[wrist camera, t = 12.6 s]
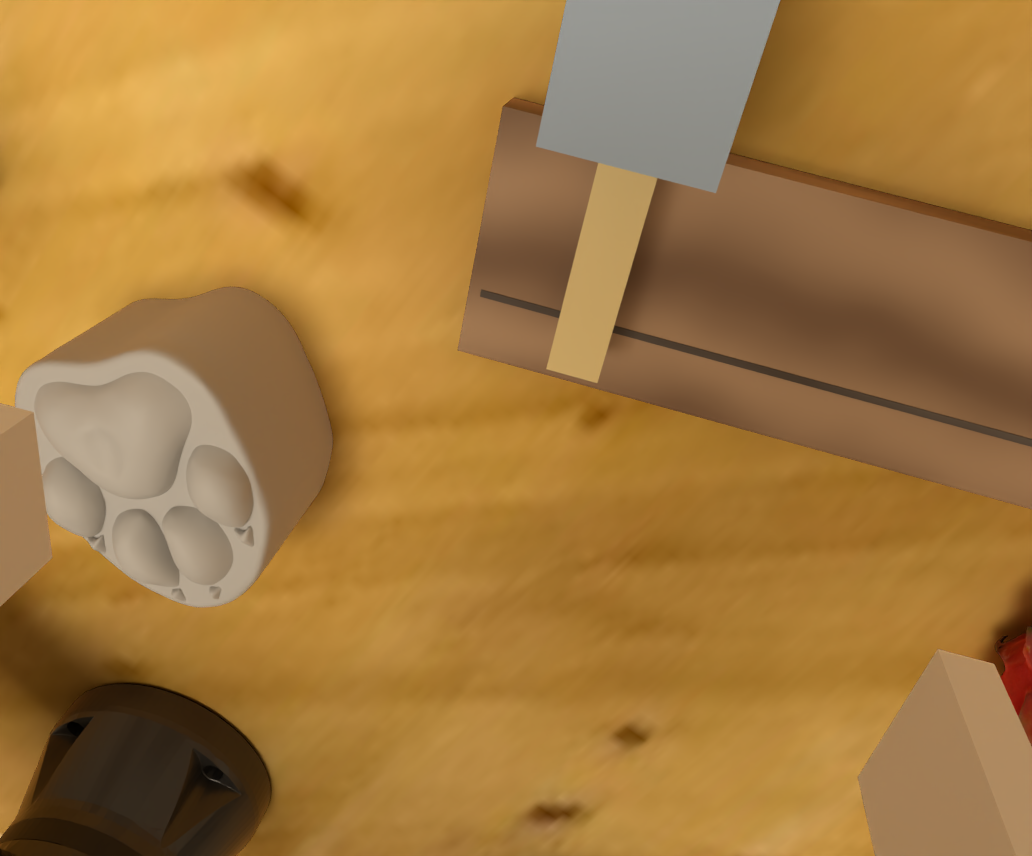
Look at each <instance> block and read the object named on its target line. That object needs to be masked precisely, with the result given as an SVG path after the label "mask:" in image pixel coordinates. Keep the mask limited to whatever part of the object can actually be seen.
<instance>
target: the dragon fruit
mask: <svg viewBox="0 0 1032 856" xmlns="http://www.w3.org/2000/svg"><path fill="white" fill-rule="evenodd" d="M1006 637H1007V636H1003V637H1002V638H1001V639H1000V640H999V641H997V642H996V645H995V650H996V652H997V653H998V654H999V655H1000V656H1001V658H1002V660H1003V662H1004V664H1005V671H1004V673H1003V674H1002V676H1001V680H1002V682H1003V684H1004V687H1005V689H1006V691H1007V693H1008V695H1009V698H1010V700H1011V702H1012V704H1013V706H1014V709H1015V711H1016V713H1017V715H1018V718H1019V720H1020V722H1021V724H1022V726H1023V729H1024V731H1025V733H1026V735H1027V737H1028V740H1029V742H1030V744H1031V746H1032V626H1027V632H1026V633H1023V634H1021V635H1019V636H1018V637H1016V638H1014V639H1011V640H1009V641H1007V642H1006V643H1002V642H1003V640H1004V639H1005V638H1006Z"/></svg>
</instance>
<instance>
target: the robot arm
mask: <svg viewBox="0 0 1032 856" xmlns="http://www.w3.org/2000/svg"><path fill="white" fill-rule="evenodd" d="M50 559H52V551H51V543H50V535H49V528H48V520H47V512H46V504H45V496H44V489H43V481H42V473H41V465H40V457H39V450H38V442H37V434H36V426H35V418H34V412H31V411H28V410H24V409H20V408H16V407H12V406H9V405H5V404H1V403H0V606H1V605H2V604H4V603H5V602H6V601H7V600H8V599H9V598H10V597H11V596H12V595H13V594H14V593H15V592H16V591H17V590H18V589H20V588H21V587H22V586H23V585H24V584H25V583H26V582H27V581H28V580H29V579H30V578H31V577H32V576H33V575H34V574H36V573H37V572H38V571H39V570H40V569H41V568H42V567H43V566H44V565H45V564H46V563H47V562H48V561H49V560H50ZM858 781H859V785H860V790H861V794H862V799H863V803H864V808H865V812H866V817H867V821H868V826H869V831H870V835H871V840H872V844H873V849H874V853H875V856H1032V746H1031V744H1030V742H1029V740H1028V737H1027V735H1026V733H1025V731H1024V729H1023V726H1022V724H1021V722H1020V720H1019V718H1018V715H1017V713H1016V711H1015V709H1014V706H1013V704H1012V702H1011V700H1010V698H1009V695H1008V693H1007V691H1006V689H1005V687H1004V684H1003V682H1002V680H1001V678H1000V676H999V673H998V671H997V669H996V667H995V665H994V664H993V663H989V662H985V661H982V660H978V659H974V658H970V657H966V656H963V655H959V654H955V653H951V652H947V651H943V650H940V649H937V651H936V653H935V654H934V656H933V657H932V659H931V661H930V662H929V664H928V665H927V667H926V669H925V670H924V672H923V673H922V675H921V677H920V678H919V680H918V681H917V683H916V685H915V686H914V688H913V689H912V691H911V693H910V694H909V696H908V697H907V699H906V701H905V702H904V704H903V705H902V707H901V709H900V710H899V712H898V713H897V715H896V717H895V718H894V720H893V721H892V723H891V725H890V726H889V728H888V729H887V731H886V733H885V734H884V736H883V737H882V739H881V741H880V742H879V744H878V745H877V747H876V749H875V750H874V752H873V753H872V755H871V757H870V758H869V760H868V761H867V763H866V765H865V766H864V768H863V769H862V771H861V772H860V774H859V776H858ZM270 796H271V789H270V782H269V778H268V775H267V772H266V770H265V767H264V765H263V763H262V762H261V760H260V758H259V757H258V755H257V754H256V752H255V751H254V750H253V748H252V747H251V746H250V745H249V744H248V742H247V741H246V740H245V739H244V738H243V737H242V736H241V735H240V734H239V733H238V732H237V731H236V730H234V729H233V728H232V727H231V726H230V725H229V724H227V723H226V722H225V721H223V720H222V719H221V718H219V717H218V716H216V715H215V714H213V713H212V712H210V711H208V710H207V709H205V708H203V707H202V706H200V705H198V704H196V703H194V702H192V701H190V700H188V699H185V698H183V697H181V696H178V695H175V694H173V693H170V692H167V691H164V690H160V689H156V688H152V687H147V686H142V685H133V684H113V685H105V686H101V687H97V688H94V689H92V690H89V691H87V692H86V693H84V694H83V695H81V696H80V697H79V698H78V699H77V700H76V701H75V702H74V703H73V704H72V706H71V707H70V708H69V709H68V710H67V712H66V713H65V714H64V715H63V716H62V718H61V719H60V720H59V721H58V722H57V724H56V725H55V726H54V728H53V730H52V731H51V733H50V735H49V737H48V740H47V742H46V745H45V747H44V750H43V752H42V755H41V757H40V760H39V762H38V765H37V767H36V770H35V772H34V775H33V777H32V780H31V782H30V785H29V787H28V790H27V792H26V794H25V797H24V799H23V802H22V804H21V807H20V809H19V812H18V814H17V816H16V818H15V820H14V821H13V823H12V824H11V825H10V827H9V828H8V829H7V830H6V832H5V833H4V834H3V835H2V837H1V838H0V856H236V855H237V854H238V853H239V852H240V851H241V850H242V849H243V848H244V847H245V846H246V845H247V843H248V842H249V841H250V839H251V838H252V837H253V835H254V833H255V831H256V829H257V828H258V826H259V824H260V822H261V820H262V818H263V816H264V814H265V812H266V810H267V808H268V805H269V802H270Z"/></svg>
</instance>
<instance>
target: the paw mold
mask: <svg viewBox="0 0 1032 856" xmlns="http://www.w3.org/2000/svg"><path fill="white" fill-rule="evenodd" d="M15 407H16V408H20V409H24V410H28V411H31V412H34V418H35V426H36V434H37V442H38V450H39V457H40V465H41V473H42V481H43V489H44V496H45V504H46V512H47V514H48V515H49V517H50V518H51V519H52V520H53V521H54V522H55V523H56V524H58V525H59V526H61V527H62V528H64V529H66V530H68V531H70V532H72V533H74V534H76V535H79V536H82V537H83V538H84V539H86V540H87V541H88V543H89V544H90V546H91V547H92V548H93V549H94V550H96V551H99V552H100V553H101V554H102V555H103V556H104V557H105V558H107V559H108V560H109V561H110V562H111V563H112V564H114V565H115V566H116V567H117V568H118V569H120V570H121V571H122V572H124V573H125V574H126V575H127V576H129V577H130V578H131V579H133V580H135V581H136V582H138V583H140V584H141V585H143V586H145V587H146V588H148V589H150V590H152V591H154V592H156V593H158V594H160V595H162V596H165V597H167V598H169V599H171V600H173V601H176V602H178V603H181V604H185V605H188V606H193V607H214V606H220V605H223V604H226V603H229V602H231V601H233V600H235V599H237V598H238V597H239V596H241V595H242V594H243V593H245V592H246V591H247V590H248V589H249V588H250V587H251V586H252V585H253V583H254V582H255V581H256V580H257V579H258V577H259V576H260V575H261V573H262V572H263V570H264V569H265V568H266V566H267V565H268V564H269V562H270V561H271V559H272V558H273V557H274V555H275V554H276V552H277V551H278V550H279V548H280V547H281V545H282V544H283V542H284V541H285V540H286V538H287V537H288V535H289V534H290V533H291V531H292V530H293V528H294V527H295V526H296V524H297V523H298V521H299V520H300V519H301V517H302V516H303V514H304V513H305V511H306V510H307V509H308V507H309V506H310V504H311V503H312V502H313V500H314V499H315V497H316V496H317V495H318V493H319V492H320V490H321V488H322V486H323V483H324V480H325V477H326V474H327V471H328V467H329V463H330V458H331V453H332V448H333V435H332V429H331V425H330V421H329V417H328V413H327V410H326V406H325V403H324V400H323V397H322V394H321V391H320V388H319V385H318V382H317V379H316V377H315V374H314V372H313V369H312V367H311V365H310V363H309V361H308V359H307V357H306V354H305V352H304V350H303V347H302V345H301V343H300V341H299V339H298V337H297V335H296V333H295V331H294V330H293V328H292V326H291V325H290V323H289V322H288V321H287V319H286V318H285V317H284V316H283V315H282V313H281V312H280V311H279V310H278V309H277V308H276V307H275V306H273V305H272V304H271V303H270V302H269V301H267V300H266V299H264V298H263V297H261V296H260V295H258V294H256V293H254V292H252V291H250V290H247V289H244V288H239V287H224V288H219V289H215V290H212V291H209V292H206V293H204V294H201V295H198V296H195V297H191V298H185V299H143V300H138V301H135V302H133V303H131V304H129V305H128V306H126V307H124V308H123V309H121V310H120V311H118V312H116V313H115V314H113V315H111V316H110V317H108V318H107V319H105V320H103V321H102V322H100V323H98V324H97V325H95V326H94V327H92V328H90V329H89V330H87V331H86V332H84V333H82V334H81V335H79V336H77V337H76V338H74V339H72V340H71V341H69V342H67V343H66V344H64V345H62V346H61V347H59V348H57V349H56V350H54V351H53V352H51V353H50V354H48V355H47V356H45V357H44V358H42V359H40V360H39V361H37V362H35V363H33V364H32V365H30V366H29V367H28V368H27V369H26V370H25V371H24V372H23V373H22V375H21V377H20V379H19V381H18V384H17V389H16V395H15Z"/></svg>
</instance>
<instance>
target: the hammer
mask: <svg viewBox="0 0 1032 856" xmlns="http://www.w3.org/2000/svg"><path fill="white" fill-rule="evenodd" d="M779 3H780V0H567V1H566V5H565V10H564V15H563V20H562V24H561V29H560V34H559V39H558V43H557V48H556V53H555V58H554V62H553V67H552V72H551V77H550V81H549V86H548V91H547V96H546V100H545V105H544V110H543V115H542V119H541V124H540V129H539V134H538V138H537V143H536V147H540V148H543V149H547V150H551V151H555V152H559V153H563V154H567V155H570V156H574V157H578V158H582V159H586V160H590V161H594V162H597V163H598V166H597V170H596V174H595V178H594V182H593V186H592V190H591V194H590V198H589V202H588V206H587V210H586V214H585V218H584V222H583V226H582V229H581V233H580V237H579V241H578V245H577V249H576V253H575V257H574V261H573V265H572V269H571V273H570V277H569V281H568V285H567V289H566V293H565V297H564V301H563V305H562V309H561V313H560V317H559V321H558V324H557V328H556V332H555V336H554V340H553V344H552V348H551V352H550V356H549V360H548V364H547V368H546V369H548V370H551V371H555V372H559V373H562V374H566V375H569V376H573V377H577V378H580V379H584V380H588V381H591V382H595V383H598V379H599V376H600V372H601V369H602V366H603V362H604V359H605V355H606V352H607V349H608V345H609V342H610V338H611V335H612V332H613V328H614V325H615V321H616V318H617V314H618V311H619V308H620V304H621V301H622V297H623V294H624V291H625V287H626V284H627V280H628V277H629V274H630V270H631V267H632V263H633V260H634V256H635V253H636V250H637V246H638V243H639V239H640V236H641V233H642V229H643V226H644V222H645V219H646V216H647V212H648V209H649V205H650V202H651V198H652V195H653V192H654V188H655V185H656V181H657V178H659V179H663V180H667V181H671V182H675V183H679V184H682V185H686V186H690V187H694V188H698V189H702V190H706V191H709V192H713V193H716V191H717V188H718V185H719V182H720V179H721V176H722V173H723V170H724V167H725V164H726V161H727V158H728V155H729V152H730V149H731V146H732V143H733V140H734V137H735V134H736V131H737V128H738V125H739V122H740V119H741V116H742V113H743V110H744V107H745V104H746V102H747V99H748V96H749V93H750V90H751V87H752V84H753V81H754V78H755V75H756V72H757V69H758V66H759V63H760V60H761V57H762V54H763V51H764V48H765V45H766V42H767V39H768V36H769V33H770V30H771V27H772V24H773V21H774V18H775V15H776V12H777V9H778V6H779Z"/></svg>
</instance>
